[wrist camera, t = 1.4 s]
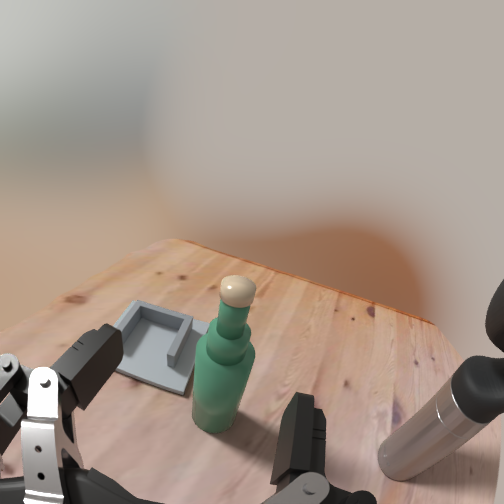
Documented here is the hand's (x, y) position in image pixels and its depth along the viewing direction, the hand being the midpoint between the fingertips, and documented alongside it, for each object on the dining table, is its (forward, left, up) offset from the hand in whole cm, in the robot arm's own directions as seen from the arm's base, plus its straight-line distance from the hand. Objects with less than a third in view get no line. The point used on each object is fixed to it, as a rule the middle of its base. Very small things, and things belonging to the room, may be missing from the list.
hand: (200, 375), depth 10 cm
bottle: (0, -12, -26) cm, 29 cm away
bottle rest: (+13, -22, -26) cm, 36 cm away
